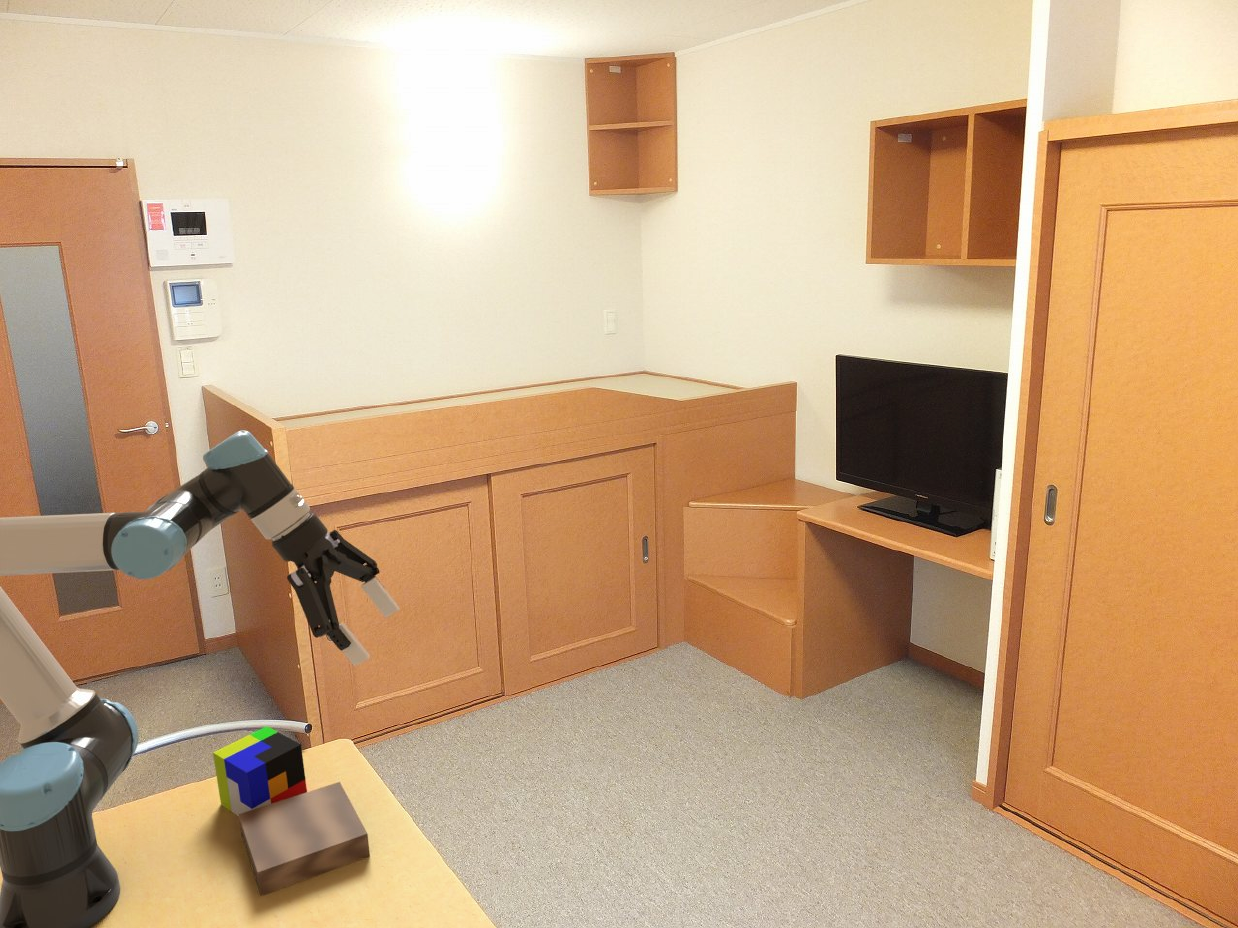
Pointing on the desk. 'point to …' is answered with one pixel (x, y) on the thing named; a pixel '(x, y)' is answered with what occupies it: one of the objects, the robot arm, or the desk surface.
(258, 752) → the puzzle toy
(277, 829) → the walnut plinth
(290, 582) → the robot arm
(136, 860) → the desk surface
